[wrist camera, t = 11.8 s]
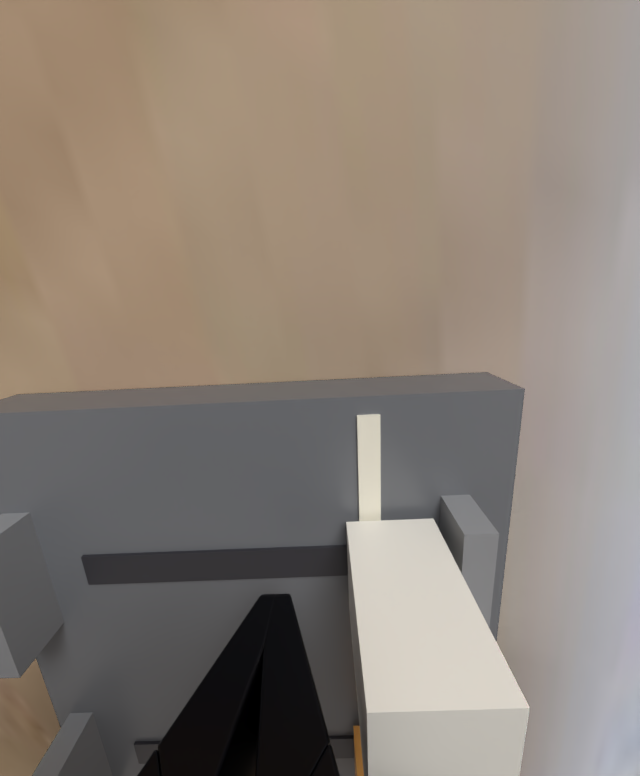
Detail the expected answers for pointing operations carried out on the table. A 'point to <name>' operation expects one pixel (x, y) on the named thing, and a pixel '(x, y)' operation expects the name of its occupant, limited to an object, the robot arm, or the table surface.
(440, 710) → the block
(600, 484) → the table surface
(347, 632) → the panel
